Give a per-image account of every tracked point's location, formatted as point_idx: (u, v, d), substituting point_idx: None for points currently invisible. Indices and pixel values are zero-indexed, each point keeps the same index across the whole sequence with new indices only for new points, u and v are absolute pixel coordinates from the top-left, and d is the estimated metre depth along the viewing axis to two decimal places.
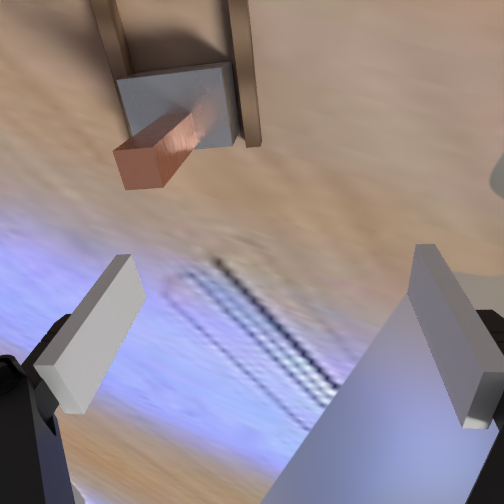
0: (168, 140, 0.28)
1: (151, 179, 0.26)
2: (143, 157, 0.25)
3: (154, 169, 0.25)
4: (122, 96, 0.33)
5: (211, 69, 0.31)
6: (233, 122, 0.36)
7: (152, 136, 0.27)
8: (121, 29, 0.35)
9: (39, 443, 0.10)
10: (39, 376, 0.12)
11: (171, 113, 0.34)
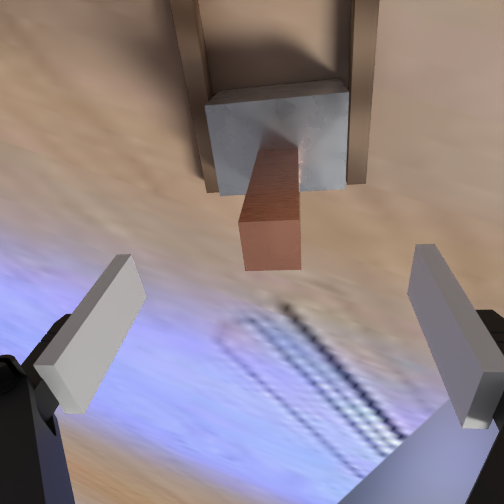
0: None
1: (286, 259, 0.18)
2: (282, 231, 0.17)
3: (294, 247, 0.18)
4: (209, 126, 0.26)
5: (335, 94, 0.24)
6: None
7: (278, 193, 0.20)
8: (202, 37, 0.28)
9: (39, 443, 0.10)
10: (39, 376, 0.12)
11: (271, 148, 0.26)
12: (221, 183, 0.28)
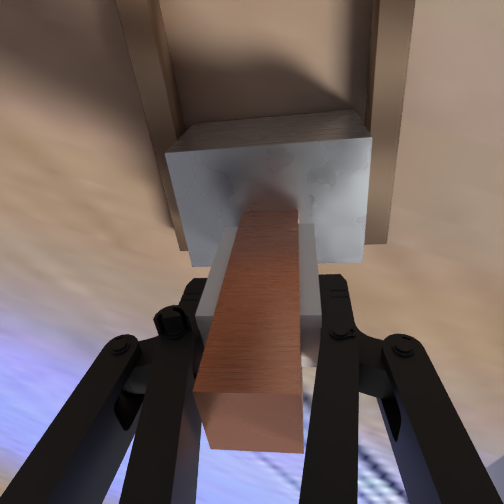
0: None
1: (278, 440, 0.11)
2: (270, 407, 0.10)
3: (292, 427, 0.10)
4: (173, 179, 0.18)
5: (351, 139, 0.16)
6: None
7: (266, 313, 0.12)
8: (166, 55, 0.20)
9: (185, 401, 0.10)
10: (195, 327, 0.13)
11: (261, 209, 0.19)
12: (193, 251, 0.21)
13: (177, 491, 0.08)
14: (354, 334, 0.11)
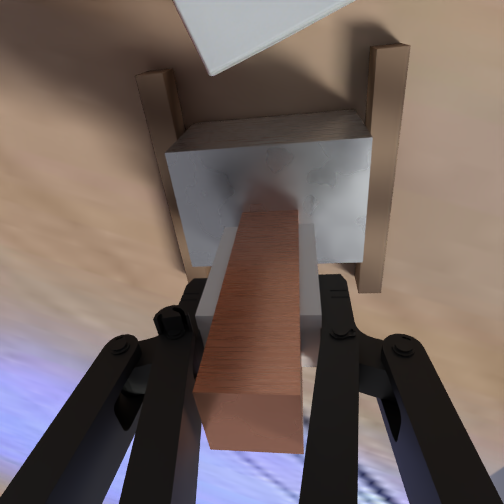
0: None
1: (278, 441, 0.11)
2: (269, 408, 0.10)
3: (292, 427, 0.10)
4: (173, 179, 0.18)
5: (352, 139, 0.16)
6: None
7: (266, 314, 0.12)
8: (182, 131, 0.23)
9: (185, 401, 0.10)
10: (195, 327, 0.13)
11: (261, 209, 0.19)
12: (193, 251, 0.21)
13: (177, 491, 0.08)
14: (354, 334, 0.11)
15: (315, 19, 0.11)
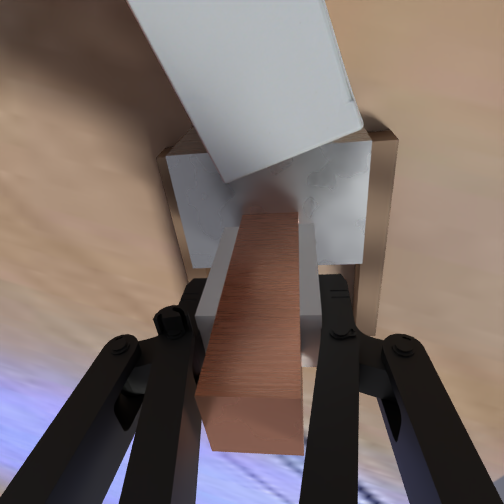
0: None
1: (279, 443, 0.11)
2: (270, 411, 0.10)
3: (293, 430, 0.10)
4: (174, 182, 0.18)
5: (351, 143, 0.16)
6: None
7: (267, 317, 0.12)
8: None
9: (185, 401, 0.10)
10: (195, 327, 0.13)
11: (261, 212, 0.19)
12: (194, 253, 0.21)
13: (177, 491, 0.08)
14: (354, 334, 0.11)
15: (315, 147, 0.13)
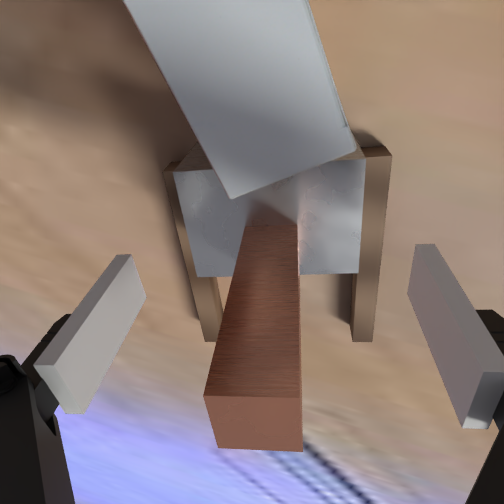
0: None
1: (280, 440, 0.12)
2: (272, 409, 0.11)
3: (292, 427, 0.11)
4: (180, 196, 0.20)
5: (347, 161, 0.18)
6: None
7: (268, 324, 0.13)
8: None
9: (39, 443, 0.10)
10: (39, 376, 0.12)
11: (262, 224, 0.20)
12: (198, 263, 0.22)
13: None
14: None
15: (312, 167, 0.14)
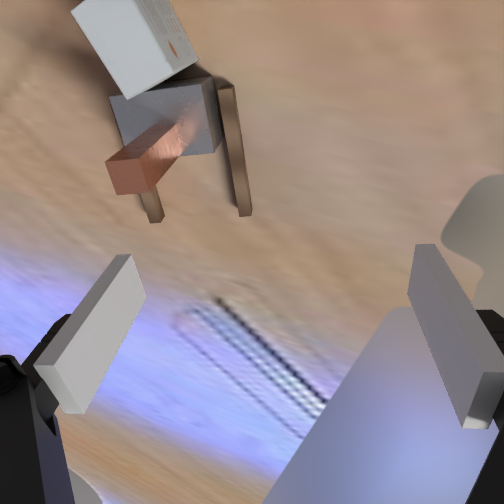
0: (153, 150, 0.32)
1: (138, 185, 0.30)
2: (130, 166, 0.29)
3: (141, 176, 0.30)
4: (114, 110, 0.38)
5: (192, 86, 0.35)
6: (215, 131, 0.40)
7: (139, 147, 0.31)
8: None
9: (39, 443, 0.10)
10: (39, 376, 0.12)
11: (158, 125, 0.38)
12: None
13: None
14: None
15: (158, 81, 0.32)
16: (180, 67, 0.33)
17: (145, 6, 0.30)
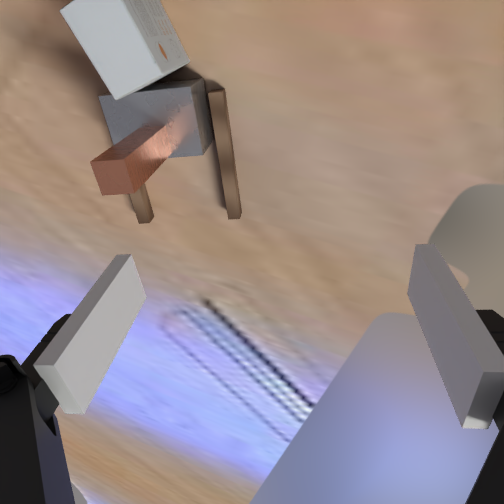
0: (140, 152, 0.32)
1: (124, 186, 0.30)
2: (116, 167, 0.29)
3: (126, 177, 0.30)
4: (104, 110, 0.38)
5: (181, 88, 0.36)
6: (204, 133, 0.40)
7: (126, 148, 0.31)
8: None
9: (39, 443, 0.10)
10: (39, 376, 0.12)
11: (147, 125, 0.38)
12: None
13: None
14: None
15: (147, 82, 0.32)
16: (170, 69, 0.33)
17: (135, 8, 0.30)
